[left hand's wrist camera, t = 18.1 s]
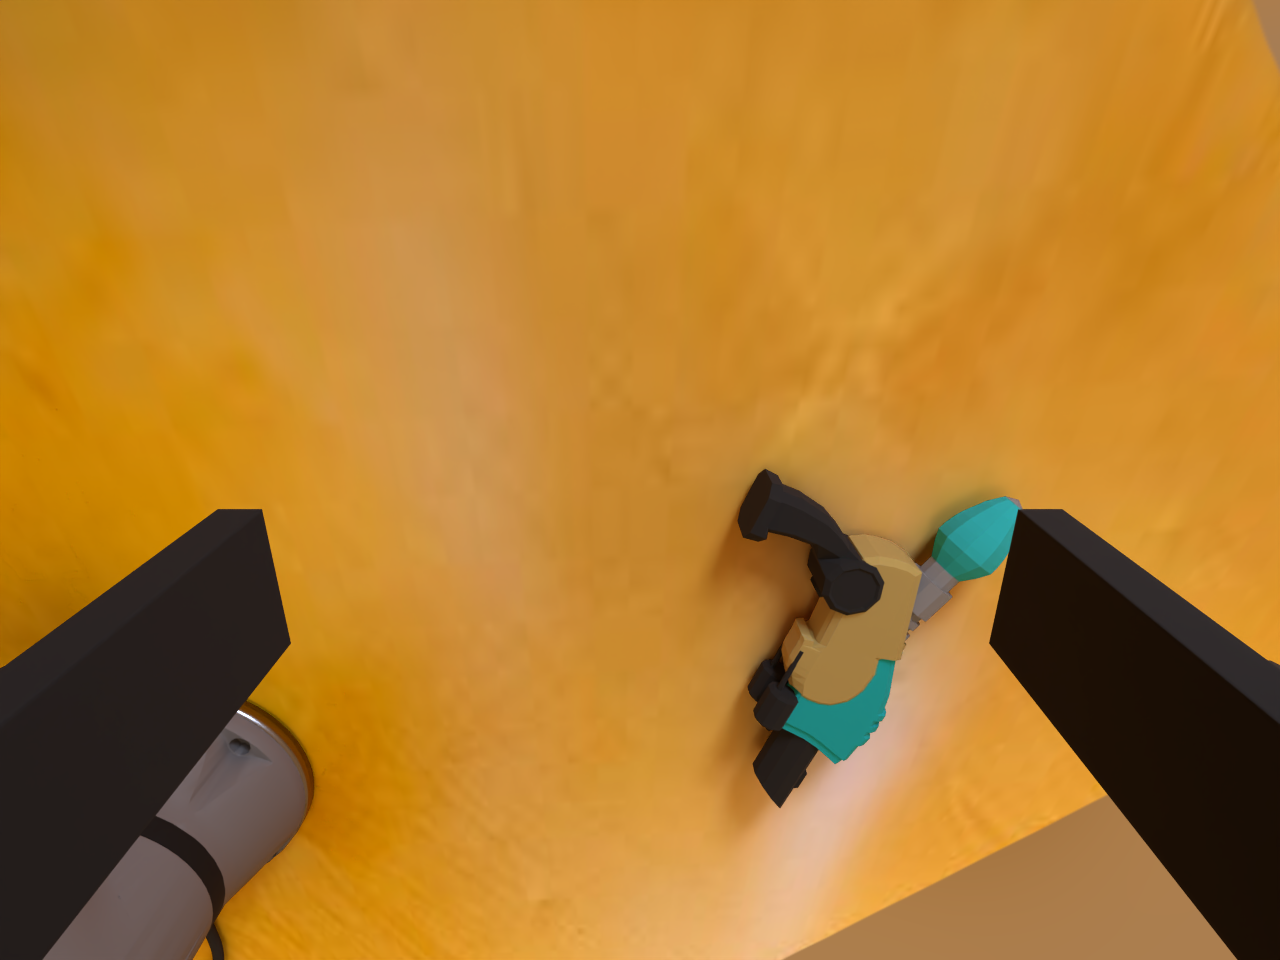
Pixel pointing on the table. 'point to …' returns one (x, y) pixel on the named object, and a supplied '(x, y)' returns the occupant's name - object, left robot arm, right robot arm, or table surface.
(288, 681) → the table surface
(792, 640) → the toy gun
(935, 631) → the table surface
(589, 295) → the table surface
